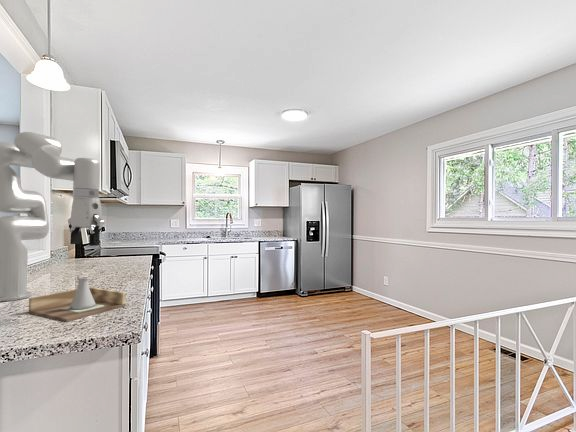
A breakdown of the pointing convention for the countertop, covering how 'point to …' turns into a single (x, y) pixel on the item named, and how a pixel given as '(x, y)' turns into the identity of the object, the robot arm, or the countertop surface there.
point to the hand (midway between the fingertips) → (84, 244)
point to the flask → (82, 295)
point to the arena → (60, 302)
